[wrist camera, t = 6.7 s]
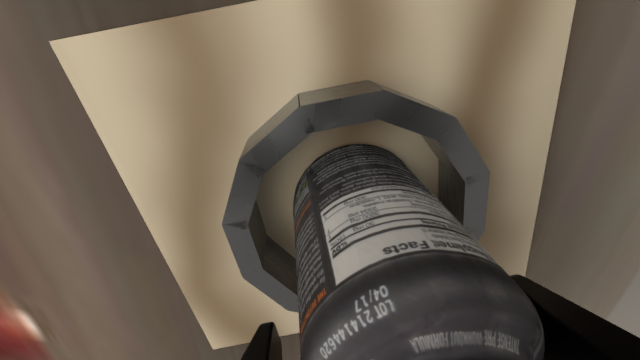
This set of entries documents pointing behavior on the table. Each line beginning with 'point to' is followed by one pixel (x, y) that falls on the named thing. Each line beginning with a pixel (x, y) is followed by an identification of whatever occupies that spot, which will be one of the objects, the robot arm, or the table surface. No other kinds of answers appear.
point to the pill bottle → (397, 270)
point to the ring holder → (318, 127)
